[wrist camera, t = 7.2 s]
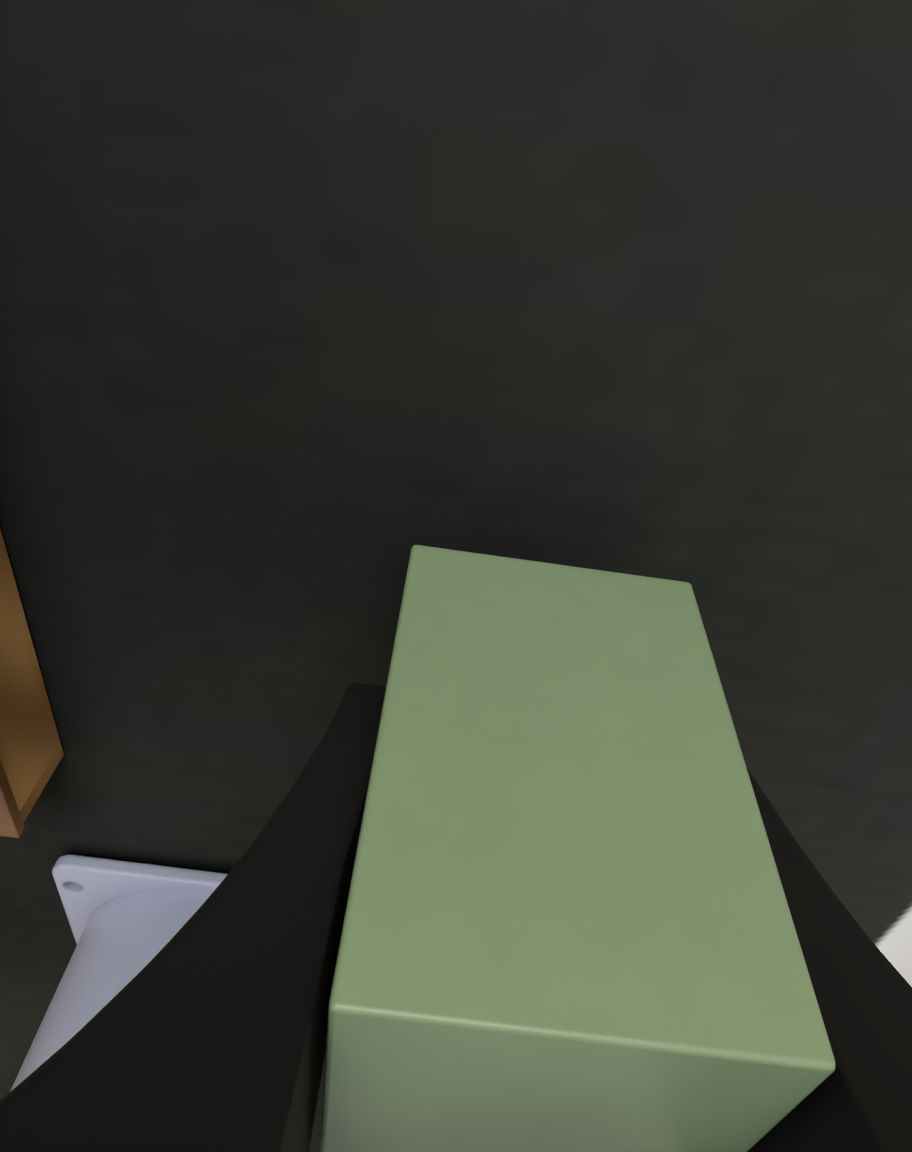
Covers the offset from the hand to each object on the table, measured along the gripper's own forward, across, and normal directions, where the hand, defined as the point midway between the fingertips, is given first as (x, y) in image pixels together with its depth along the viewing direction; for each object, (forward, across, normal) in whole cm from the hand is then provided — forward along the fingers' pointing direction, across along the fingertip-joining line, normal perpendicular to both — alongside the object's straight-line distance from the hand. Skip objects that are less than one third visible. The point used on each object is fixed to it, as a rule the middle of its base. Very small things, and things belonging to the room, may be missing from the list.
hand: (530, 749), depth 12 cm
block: (+2, 0, 0) cm, 2 cm away
